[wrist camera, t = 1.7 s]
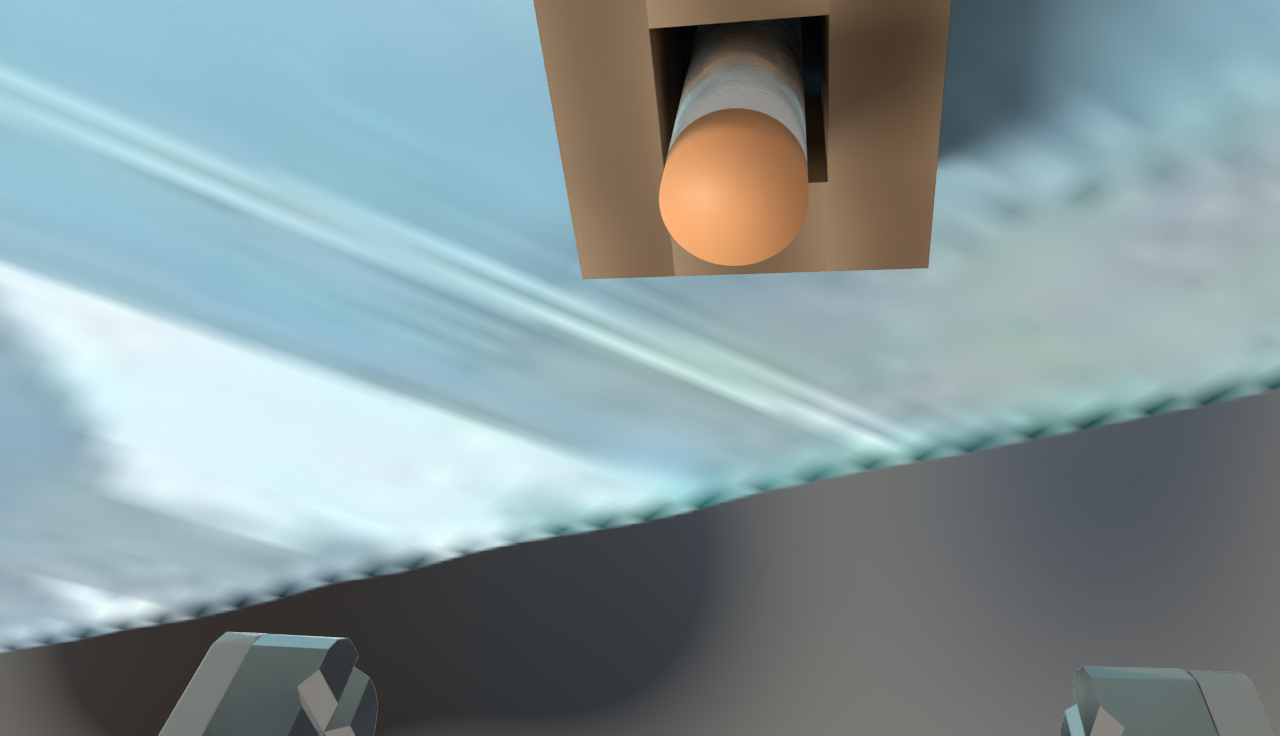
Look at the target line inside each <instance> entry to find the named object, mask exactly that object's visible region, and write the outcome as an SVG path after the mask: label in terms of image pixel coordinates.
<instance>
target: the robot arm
mask: <svg viewBox="0 0 1280 736" xmlns="http://www.w3.org/2000/svg"><path fill="white" fill-rule="evenodd" d="M357 657H358V653H357V651H356V649H355V648H354V646H353V644H352V642H351V641H350V639H349V638H335V637H317V636H296V635H278V634H268V633H243V632H226V633H225V634H224V635H222V636H221V637H220V638H219V639H218V640H216V641H215V642H214V643H213V644H212V646H211V648H210V649H209V651H208V653H207V654H206V656H205V658H204V659H203V661H202V663H201V665H200V666H199V668H198V670H197V671H196V673H195V674H194V676H193V678H192V680H191V681H190V683H189V685H188V686H187V688H186V690H185V691H184V693H183V695H182V696H181V698H180V700H179V701H178V703H177V705H176V707H175V708H174V710H173V712H172V714H171V715H170V717H169V718H168V720H167V722H166V723H165V725H164V727H163V729H162V730H161V732H160V734H159V735H158V736H373V735H374V732H375V725H376V718H377V710H378V705H377V698H376V691H375V688H374V686H373V684H372V681H371V679H370V678H369V677H368V676H367V675H365V674H364V673H362V672H361V671H359V670H358V669H356V668H355V667H354V665H355V662H356V660H357ZM1072 688H1073V691H1074V695H1075V699H1076V703H1077V704H1075V705H1074V706H1072V707H1070V708H1069V709H1067V710H1066V711H1065V713H1064V718H1063V722H1062V727H1061V736H1277V734H1276V732H1275V730H1274V728H1273V725H1272V723H1271V721H1270V719H1269V717H1268V715H1267V712H1266V710H1265V708H1264V706H1263V704H1262V702H1261V699H1260V697H1259V695H1258V693H1257V691H1256V689H1255V686H1254V684H1253V683H1252V682H1251V681H1250V680H1249V679H1248V678H1247V677H1246V676H1245V675H1244V674H1242V673H1239V672H1229V671H1186V670H1183V669H1172V668H1171V669H1170V668H1130V667H1127V668H1126V667H1088V666H1085V667H1084V666H1082V667H1081V668H1080V669H1079V670H1078V671H1076V675H1075V678H1074V681H1073V685H1072Z"/></svg>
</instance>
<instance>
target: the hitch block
mask: <svg viewBox="0 0 1280 736" xmlns="http://www.w3.org/2000/svg"><path fill="white" fill-rule="evenodd" d="M533 1H534V7H535V13H536V18H537V24H538V30H539V35H540V41H541V47H542V52H543V58H544V64H545V69H546V75H547V81H548V86H549V92H550V97H551V103H552V109H553V114H554V120H555V126H556V131H557V137H558V143H559V148H560V154H561V160H562V165H563V171H564V177H565V182H566V188H567V194H568V199H569V205H570V211H571V216H572V222H573V228H574V233H575V239H576V245H577V250H578V256H579V262H580V267H581V273H582V279H602V278H633V277H664V276H695V275H726V274H757V273H788V272H819V271H850V270H882V269H913V268H928V265H929V253H930V242H931V230H932V219H933V207H934V196H935V184H936V172H937V161H938V149H939V138H940V126H941V115H942V103H943V92H944V80H945V68H946V57H947V45H948V34H949V22H950V11H951V0H533ZM818 15H821V98H814V99H804V100H805V122H806V144H807V167H808V189H809V204H808V211H807V215H806V218H805V221H804V224H803V226H802V227H801V229H800V231H799V233H798V234H797V235H796V237H795V238H794V239H793V241H792V242H791V243H790V244H789V245H788V246H787V247H785V248H784V249H783V250H782V251H780V252H779V253H777V254H776V255H774V256H772V257H770V258H768V259H766V260H763V261H760V262H757V263H754V264H749V265H741V266H726V265H719V264H715V263H711V262H708V261H705V260H702V259H700V258H698V257H696V256H694V255H692V254H691V253H689V252H688V251H686V250H685V249H684V248H683V247H682V246H680V245H679V244H678V243H677V242H676V240H675V239H674V238H673V237H672V236H671V234H670V233H669V231H668V230H667V228H666V226H665V224H664V221H663V219H662V216H661V212H660V206H659V191H660V185H661V180H662V176H663V172H664V168H665V163H666V159H667V155H668V151H669V146H670V142H671V138H672V134H673V129H674V125H675V121H676V117H677V112H678V108H679V104H680V100H681V95H682V91H683V85H682V73H681V62H680V50H679V39H678V28H677V26H690V25H703V24H715V23H728V22H741V21H754V20H767V19H780V18H793V17H805V16H818Z"/></svg>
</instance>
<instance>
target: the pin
mask: <svg viewBox="0 0 1280 736" xmlns="http://www.w3.org/2000/svg"><path fill="white" fill-rule="evenodd" d="M808 204H809V189H808V167H807V144H806V122H805V100H804V78H803V55H802V33H801V21H800V17H793V18H780V19H767V20H754V21H741V22H728V23H715V24H703V25H698V27H697V32H696V36H695V40H694V44H693V49H692V53H691V57H690V61H689V66H688V70H687V74H686V78H685V83H684V87H683V91H682V95H681V100H680V104H679V108H678V112H677V117H676V121H675V125H674V129H673V134H672V138H671V142H670V146H669V151H668V155H667V159H666V163H665V168H664V172H663V176H662V180H661V185H660V191H659V206H660V212H661V216H662V219H663V221H664V224H665V226H666V228H667V230H668V231H669V233H670V234H671V236H672V237H673V238H674V239H675V240H676V242H677V243H678V244H679V245H680V246H682V247H683V248H684V249H685V250H686V251H688V252H689V253H691V254H692V255H694V256H696V257H698V258H700V259H702V260H705V261H708V262H711V263H715V264H719V265H726V266H741V265H749V264H754V263H757V262H760V261H763V260H766V259H768V258H770V257H772V256H774V255H776V254H777V253H779V252H780V251H782V250H783V249H784V248H785V247H787V246H788V245H789V244H790V243H791V242H792V241H793V239H794V238H795V237H796V235H797V234H798V233H799V231H800V229H801V227H802V226H803V224H804V221H805V218H806V215H807V211H808Z"/></svg>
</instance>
